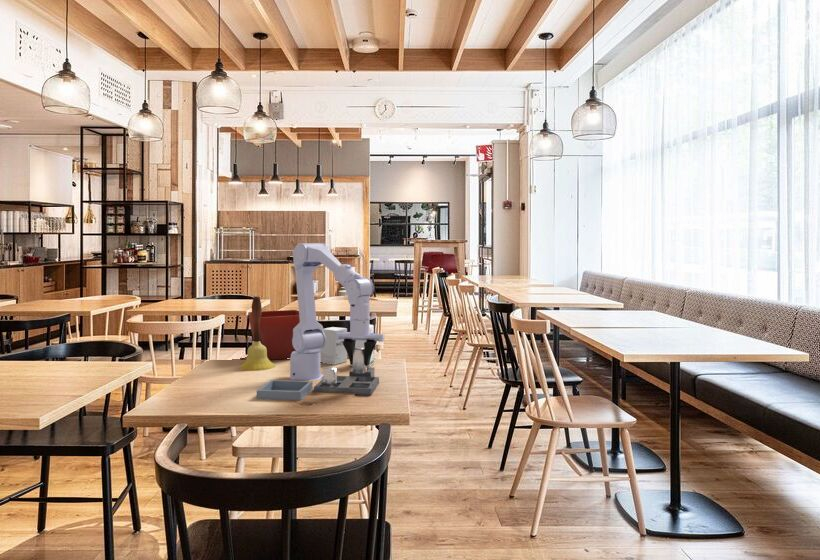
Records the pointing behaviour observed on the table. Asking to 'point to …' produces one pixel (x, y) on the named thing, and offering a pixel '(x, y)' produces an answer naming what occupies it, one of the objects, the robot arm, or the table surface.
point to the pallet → (351, 385)
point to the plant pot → (277, 332)
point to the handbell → (257, 344)
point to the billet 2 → (358, 360)
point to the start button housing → (367, 374)
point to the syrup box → (361, 344)
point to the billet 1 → (330, 377)
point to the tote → (285, 390)
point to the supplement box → (333, 347)
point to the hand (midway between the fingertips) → (359, 364)
